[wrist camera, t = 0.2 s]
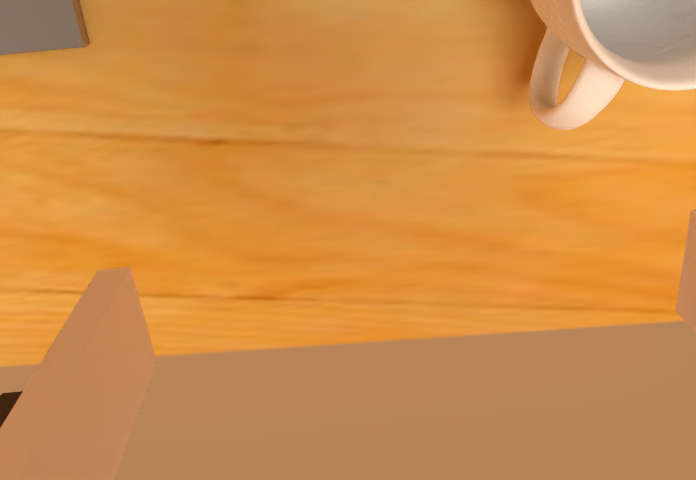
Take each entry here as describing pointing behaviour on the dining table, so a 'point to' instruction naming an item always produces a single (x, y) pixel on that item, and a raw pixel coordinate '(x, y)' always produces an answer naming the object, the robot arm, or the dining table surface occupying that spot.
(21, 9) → the slate board
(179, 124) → the dining table surface
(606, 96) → the mug
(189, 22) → the dining table surface
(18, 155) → the dining table surface
